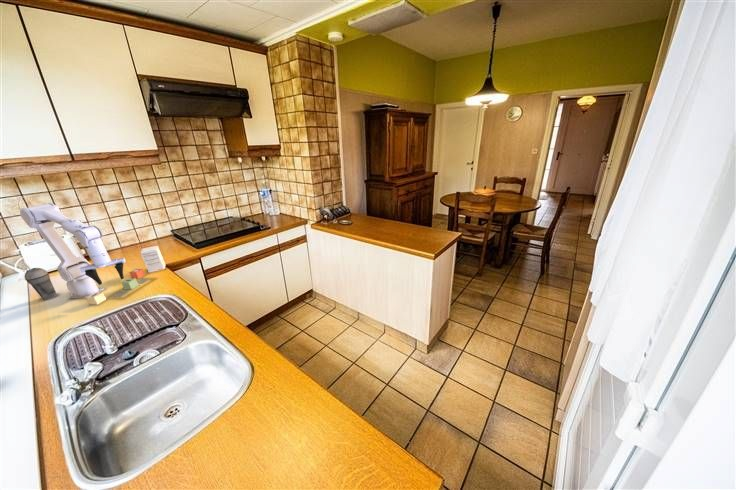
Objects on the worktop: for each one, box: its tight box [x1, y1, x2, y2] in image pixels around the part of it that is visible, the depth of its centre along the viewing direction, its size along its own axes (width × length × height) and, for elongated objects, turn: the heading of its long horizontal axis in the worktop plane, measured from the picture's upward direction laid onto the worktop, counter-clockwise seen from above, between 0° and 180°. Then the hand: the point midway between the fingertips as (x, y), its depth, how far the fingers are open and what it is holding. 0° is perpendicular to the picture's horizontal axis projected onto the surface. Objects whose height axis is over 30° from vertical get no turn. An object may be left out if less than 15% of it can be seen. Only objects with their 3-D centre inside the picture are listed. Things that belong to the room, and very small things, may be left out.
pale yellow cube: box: [85, 292, 107, 305], centre depth 120 cm, size 4×4×4 cm
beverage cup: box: [22, 260, 58, 301], centre depth 124 cm, size 7×7×20 cm
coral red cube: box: [128, 268, 146, 279], centre depth 142 cm, size 4×4×4 cm
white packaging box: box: [140, 245, 167, 274], centre depth 148 cm, size 7×7×13 cm
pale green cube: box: [120, 277, 140, 291], centre depth 131 cm, size 4×4×4 cm
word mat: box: [111, 278, 151, 298], centre depth 131 cm, size 9×18×1 cm, turn 175°
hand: (111, 281), depth 120 cm, fingers open, 7 cm apart
